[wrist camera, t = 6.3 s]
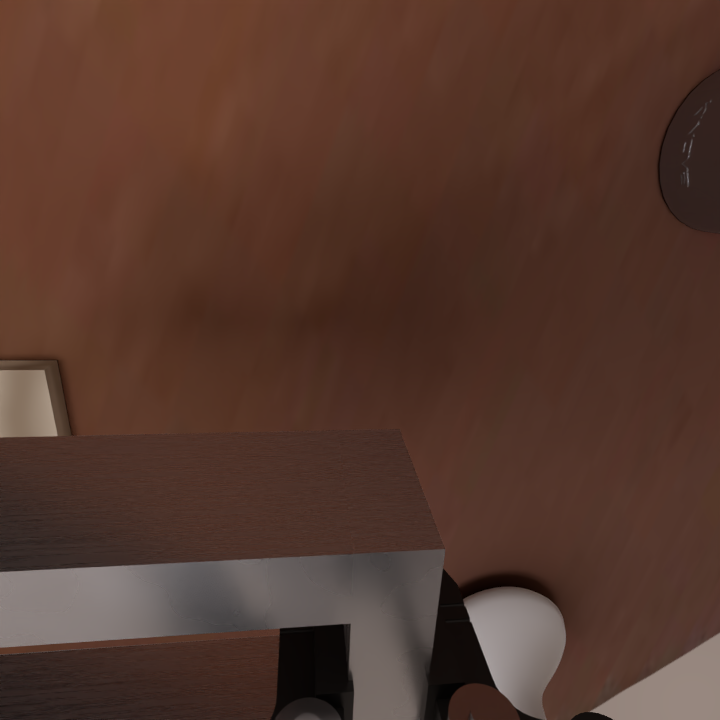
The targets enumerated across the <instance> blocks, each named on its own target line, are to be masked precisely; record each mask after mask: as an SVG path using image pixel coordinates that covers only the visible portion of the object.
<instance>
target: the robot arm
mask: <svg viewBox="0 0 720 720" xmlns="http://www.w3.org/2000/svg"><path fill="white" fill-rule="evenodd" d="M660 184H661V188H662V192H663V196H664V199H665V201H666V203H667V205H668V207H669V209H670V210H671V212H672V213H673V214H674V215H675V216H676V217H677V218H678V219H679V220H680V221H681V222H683V223H684V224H686V225H688V226H689V227H691V228H694V229H697V230H701V231H704V232H712V233H719V234H720V70H718V71H717V72H715V73H714V74H712V75H711V76H709V77H708V78H706V79H705V80H704V81H703V82H702V83H701V84H700V85H698V86H697V87H696V88H695V89H694V90H693V91H692V92H691V93H690V94H689V96H688V97H687V98H686V100H685V101H684V102H683V104H682V105H681V106H680V108H679V109H678V111H677V113H676V115H675V116H674V118H673V120H672V122H671V124H670V126H669V128H668V131H667V134H666V137H665V140H664V143H663V146H662V152H661V158H660ZM353 706H354V684H353V680H348V670H347V658H346V647H345V636H344V625H343V624H336V625H321V626H306V627H292V628H280V637H279V657H278V677H277V698H276V705H275V709H274V712H273V714H272V717H271V719H270V720H353ZM420 720H542V719H538V718H535V717H532V716H529V715H527V714H525V713H523V712H521V711H520V710H518V709H517V708H515V707H514V706H513V704H512V703H511V702H510V701H509V699H508V698H507V697H505V696H504V695H503V694H502V693H501V692H500V691H499V690H498V688H497V687H496V685H495V682H494V680H493V678H492V675H491V672H490V670H489V667H488V665H487V662H486V659H485V657H484V654H483V651H482V649H481V646H480V643H479V641H478V638H477V635H476V633H475V630H474V628H473V625H472V622H470V617H469V614H468V612H467V609H466V606H464V601H463V598H462V596H461V593H460V590H459V588H458V585H457V583H456V582H455V581H454V580H453V579H452V578H451V577H450V576H449V575H448V573H447V572H446V571H445V570H444V569H443V571H442V579H441V587H440V595H439V603H438V610H437V618H436V626H435V634H434V642H433V650H432V658H431V666H430V673H429V674H426V676H425V684H424V692H423V700H422V707H421V715H420ZM571 720H613V719H611V718H609V717H607V716H605V715H601V714H599V713H593V712H584V713H580V714H578V715H576V716H575V717H573V718H572V719H571Z"/></svg>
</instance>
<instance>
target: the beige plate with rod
mask: <svg viewBox="0 0 720 720" xmlns="http://www.w3.org/2000/svg"><path fill="white" fill-rule="evenodd" d="M44 436H71V430H70V425H69V420H68V415H67V410H66V404H65V399H64V394H63V389H62V384H61V378H60V373H59V368H58V363H57V360H0V437H44Z"/></svg>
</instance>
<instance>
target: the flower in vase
mask: <svg viewBox="0 0 720 720" xmlns="http://www.w3.org/2000/svg"><path fill="white" fill-rule="evenodd" d="M463 601H464V606H466V609H467V612H468V614H469V617H470V622H472V625H473V628H474V630H475V633H476V635H477V638H478V641H479V643H480V646H481V649H482V651H483V654H484V657H485V659H486V662H487V665H488V667H489V670H490V672H491V675H492V678H493V680H494V682H495V685H496V687H497V688H498V690H499V691H500V692H501V693H502V694H503V695H504V696H505V697H507V698H508V699H509V701H510V702H511V703H512V704H513V706H514V707H515V708H517V709H518V710H520V711H521V712H523V713H525V714H527V715H529V716H532V717H535V718H538V719H542V720H547V719H546V717H545V713H544V710H543V706H542V695H543V692H544V690H545V688H546V686H547V684H548V683H549V681H550V680H551V678H552V676H553V674H554V673H555V671H556V669H557V667H558V665H559V663H560V660H561V657H562V654H563V651H564V648H565V643H566V632H565V626H564V620H563V617H562V614H561V612H560V610H559V609H558V607H557V606H556V605H555V604H554V603H553V602H552V601H551V600H549V599H548V598H546V597H545V596H543V595H541V594H539V593H536V592H534V591H531V590H529V589H525V588H520V587H497V588H491V589H487V590H484V591H480V592H477V593H475V594H473V595H470V596H468V597H466V598H465V599H463Z"/></svg>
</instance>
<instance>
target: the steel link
mask: <svg viewBox="0 0 720 720" xmlns="http://www.w3.org/2000/svg"><path fill="white" fill-rule="evenodd" d="M444 555H445V547H444V545H443V542H442V539H441V537H440V534H439V531H438V529H437V526H436V524H435V521H434V518H433V516H432V513H431V510H430V508H429V505H428V503H427V500H426V497H425V495H424V492H423V489H422V487H421V484H420V482H419V479H418V476H417V474H416V471H415V468H414V466H413V463H412V461H411V458H410V455H409V453H408V450H407V447H406V445H405V442H404V440H403V437H402V434H401V432H400V429H375V430H328V431H281V432H233V433H186V434H139V435H92V436H44V437H0V647H14V646H29V645H43V644H58V643H72V642H87V641H102V640H116V639H131V638H146V637H160V636H175V635H189V634H204V633H219V632H233V631H248V630H262V629H277V628H292V627H306V626H321V625H336V624H343V625H344V636H345V647H346V658H347V670H348V680H353V684H354V706H353V720H420V715H421V707H422V700H423V692H424V684H425V676H426V674H429V673H430V666H431V658H432V650H433V642H434V634H435V626H436V618H437V610H438V603H439V595H440V587H441V579H442V571H443V563H444ZM279 637H280V635H276V636H262V637H247V638H233V639H219V640H205V641H190V642H176V643H162V644H148V645H133V646H119V647H105V648H90V649H76V650H62V651H48V652H33V653H19V654H5V655H0V720H270V719H271V717H272V714H273V712H274V709H275V705H276V698H277V677H278V657H279Z"/></svg>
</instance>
